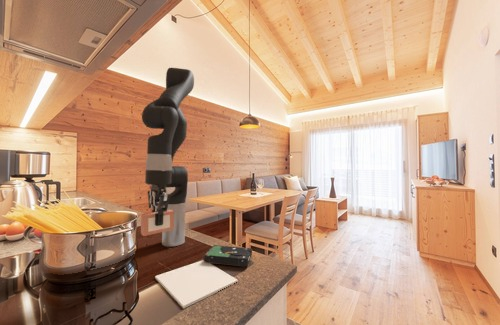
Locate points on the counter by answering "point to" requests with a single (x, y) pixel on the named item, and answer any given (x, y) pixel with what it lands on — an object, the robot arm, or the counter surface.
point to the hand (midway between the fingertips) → (157, 223)
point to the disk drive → (228, 255)
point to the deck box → (149, 223)
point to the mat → (194, 282)
